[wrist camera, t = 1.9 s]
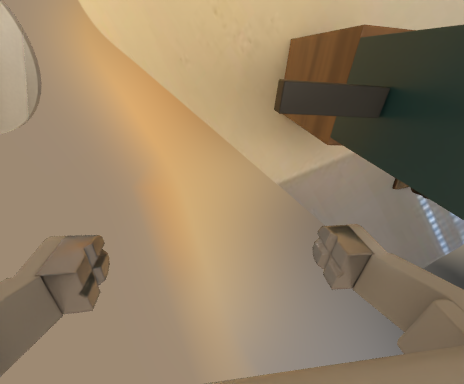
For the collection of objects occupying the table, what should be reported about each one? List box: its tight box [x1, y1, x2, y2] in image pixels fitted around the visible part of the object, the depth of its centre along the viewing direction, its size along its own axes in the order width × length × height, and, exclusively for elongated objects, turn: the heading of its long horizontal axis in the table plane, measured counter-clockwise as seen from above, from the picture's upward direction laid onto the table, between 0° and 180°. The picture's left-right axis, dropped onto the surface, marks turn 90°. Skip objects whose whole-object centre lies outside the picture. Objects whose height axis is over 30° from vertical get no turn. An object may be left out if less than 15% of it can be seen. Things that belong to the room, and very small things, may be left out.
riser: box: [283, 25, 416, 145], centre depth 33 cm, size 12×12×20 cm
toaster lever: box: [274, 79, 390, 118], centre depth 18 cm, size 9×2×2 cm, turn 87°
